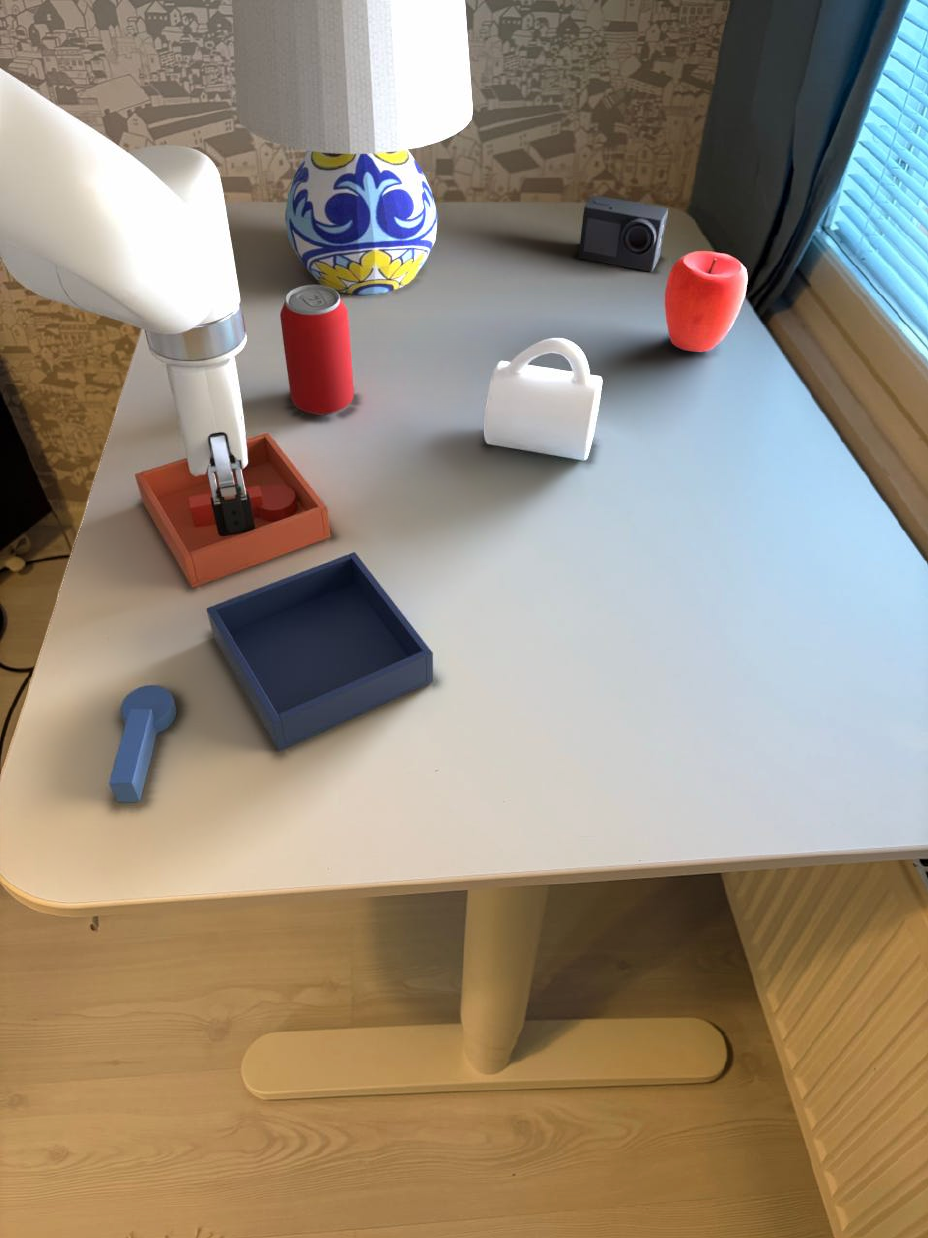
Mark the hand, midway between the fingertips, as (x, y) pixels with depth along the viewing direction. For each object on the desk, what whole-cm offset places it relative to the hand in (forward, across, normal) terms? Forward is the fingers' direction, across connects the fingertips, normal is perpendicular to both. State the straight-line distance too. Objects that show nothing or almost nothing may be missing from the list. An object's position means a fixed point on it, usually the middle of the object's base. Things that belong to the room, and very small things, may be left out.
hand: (230, 497), depth 83 cm
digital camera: (+3, -40, +56) cm, 69 cm away
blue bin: (+3, +19, +5) cm, 20 cm away
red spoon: (+2, 0, +1) cm, 2 cm away
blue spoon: (+3, +24, -10) cm, 26 cm away
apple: (+3, -18, +56) cm, 59 cm away
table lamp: (+3, -46, +22) cm, 51 cm away
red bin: (+3, 0, 0) cm, 3 cm away
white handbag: (+3, -4, +32) cm, 32 cm away
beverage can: (+3, -17, +12) cm, 21 cm away
